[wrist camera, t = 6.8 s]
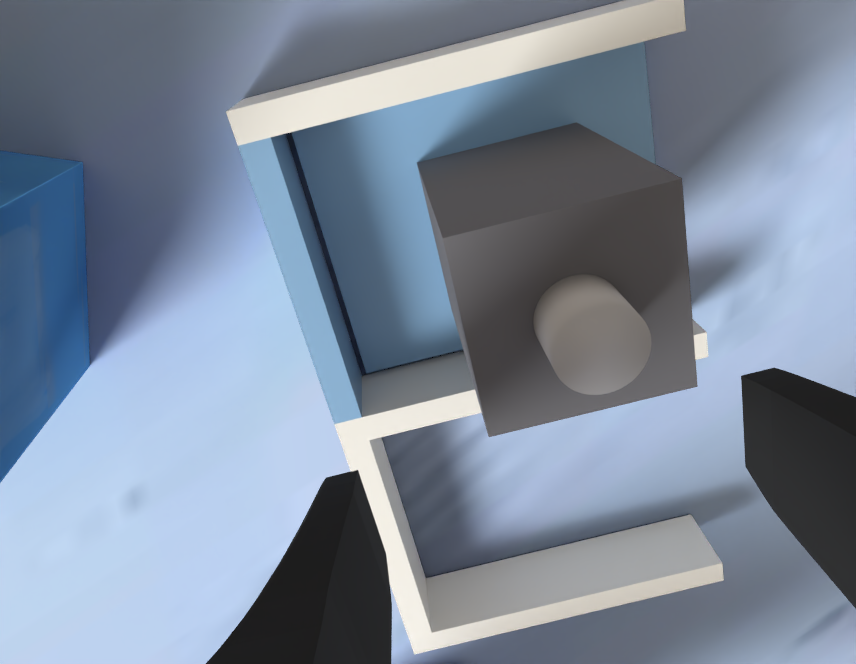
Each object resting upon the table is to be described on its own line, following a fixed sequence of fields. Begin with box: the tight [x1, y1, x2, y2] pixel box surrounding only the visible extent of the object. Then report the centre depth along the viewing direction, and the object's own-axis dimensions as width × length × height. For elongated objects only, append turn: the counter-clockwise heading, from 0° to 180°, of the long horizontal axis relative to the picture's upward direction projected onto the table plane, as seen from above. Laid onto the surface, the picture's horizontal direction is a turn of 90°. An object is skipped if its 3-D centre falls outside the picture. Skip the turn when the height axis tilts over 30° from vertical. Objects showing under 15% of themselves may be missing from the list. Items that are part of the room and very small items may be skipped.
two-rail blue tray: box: [226, 0, 724, 654], centre depth 21 cm, size 18×11×2 cm, turn 13°
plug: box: [417, 122, 697, 437], centre depth 16 cm, size 4×4×8 cm
